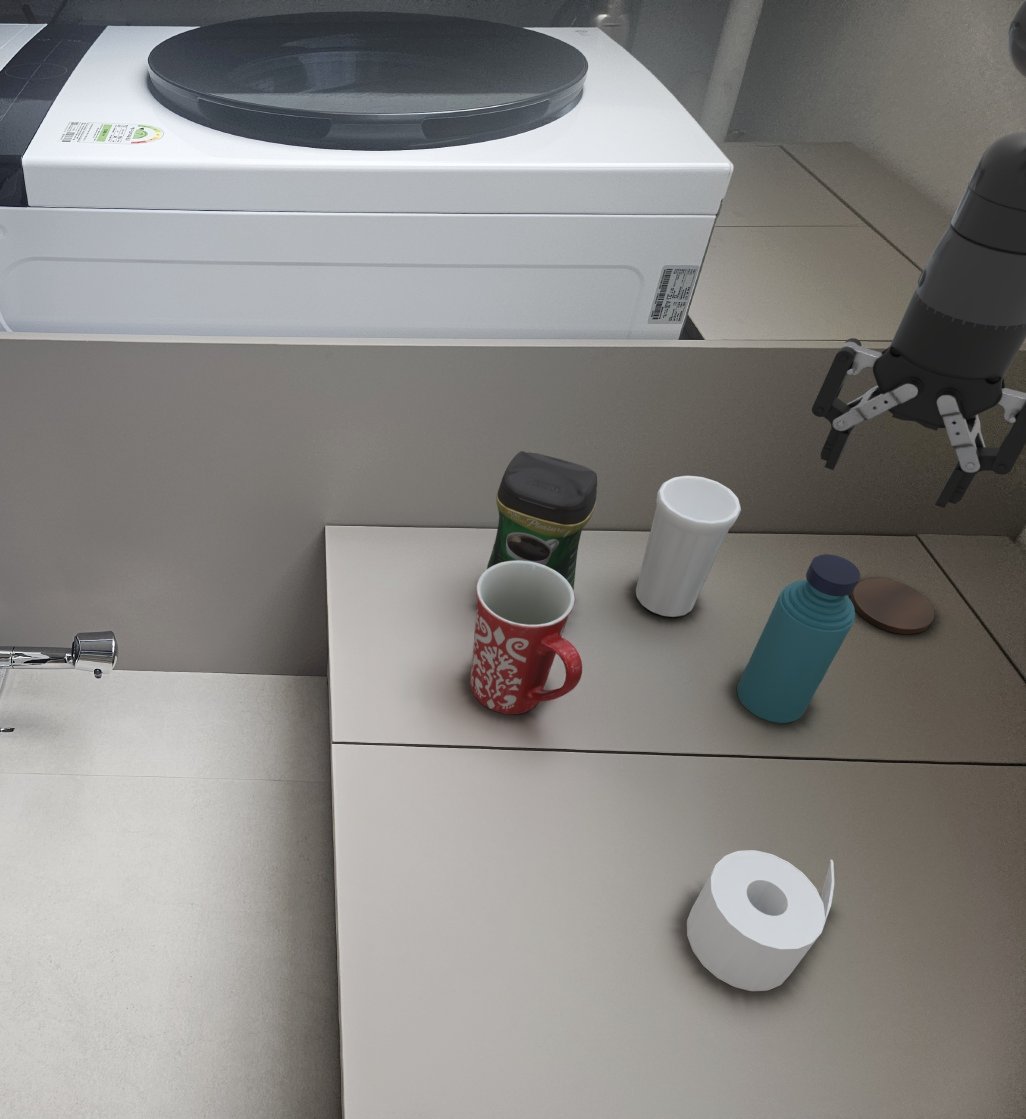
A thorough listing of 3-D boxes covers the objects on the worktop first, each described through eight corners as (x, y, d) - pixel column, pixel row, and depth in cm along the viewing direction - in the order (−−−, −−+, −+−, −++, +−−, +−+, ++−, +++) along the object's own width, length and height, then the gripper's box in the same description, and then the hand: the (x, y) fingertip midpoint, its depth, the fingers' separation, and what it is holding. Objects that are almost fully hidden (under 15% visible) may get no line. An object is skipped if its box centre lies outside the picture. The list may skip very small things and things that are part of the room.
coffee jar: (577, 594, 109) (613, 460, 96) (555, 640, 104) (590, 504, 91) (494, 567, 112) (519, 434, 100) (470, 609, 107) (492, 475, 95)
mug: (442, 671, 100) (457, 576, 91) (515, 643, 103) (536, 548, 94) (515, 761, 92) (538, 667, 83) (591, 728, 95) (622, 633, 86)
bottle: (813, 693, 98) (882, 568, 86) (793, 733, 94) (862, 608, 82) (749, 664, 101) (808, 539, 89) (727, 702, 97) (785, 576, 85)
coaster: (939, 603, 107) (942, 598, 106) (921, 645, 102) (924, 640, 102) (862, 573, 111) (864, 568, 110) (841, 612, 106) (844, 607, 106)
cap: (859, 578, 87) (865, 566, 86) (846, 603, 84) (853, 590, 83) (813, 560, 89) (819, 548, 88) (799, 584, 86) (805, 571, 85)
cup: (699, 633, 104) (740, 532, 94) (621, 614, 106) (653, 513, 97) (704, 585, 110) (743, 484, 100) (631, 567, 112) (662, 467, 102)
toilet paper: (824, 912, 80) (856, 868, 76) (768, 1013, 74) (799, 972, 70) (728, 852, 85) (753, 807, 80) (668, 943, 78) (691, 900, 74)
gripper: (1107, 304, 66) (994, 492, 77) (882, 250, 73) (807, 431, 84) (1091, 348, 62) (974, 541, 73) (854, 287, 69) (779, 472, 80)
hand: (885, 482), depth 78 cm, fingers open, 8 cm apart
